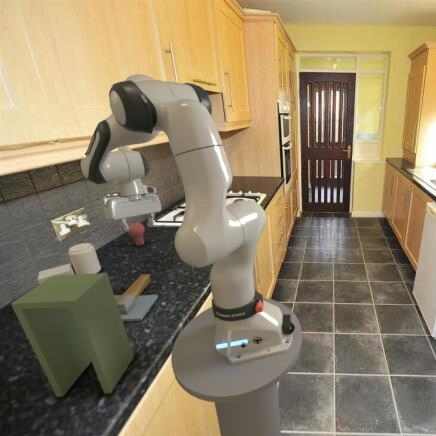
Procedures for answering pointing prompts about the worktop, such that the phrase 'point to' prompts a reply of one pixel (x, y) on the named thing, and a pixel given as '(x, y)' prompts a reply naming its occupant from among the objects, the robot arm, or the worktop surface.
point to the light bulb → (137, 233)
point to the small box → (55, 272)
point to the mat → (140, 308)
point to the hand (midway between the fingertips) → (140, 228)
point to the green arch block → (75, 329)
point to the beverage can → (84, 259)
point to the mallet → (132, 294)
